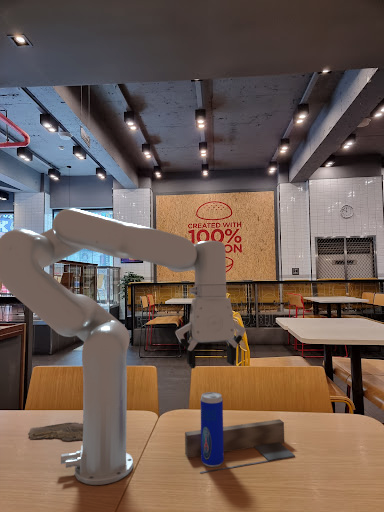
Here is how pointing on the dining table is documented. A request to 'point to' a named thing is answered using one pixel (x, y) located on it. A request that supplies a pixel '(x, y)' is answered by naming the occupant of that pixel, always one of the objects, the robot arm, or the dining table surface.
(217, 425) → the beverage can
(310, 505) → the dining table surface
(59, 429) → the wooden fragment
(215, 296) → the robot arm
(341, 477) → the dining table surface
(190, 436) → the guide fence
